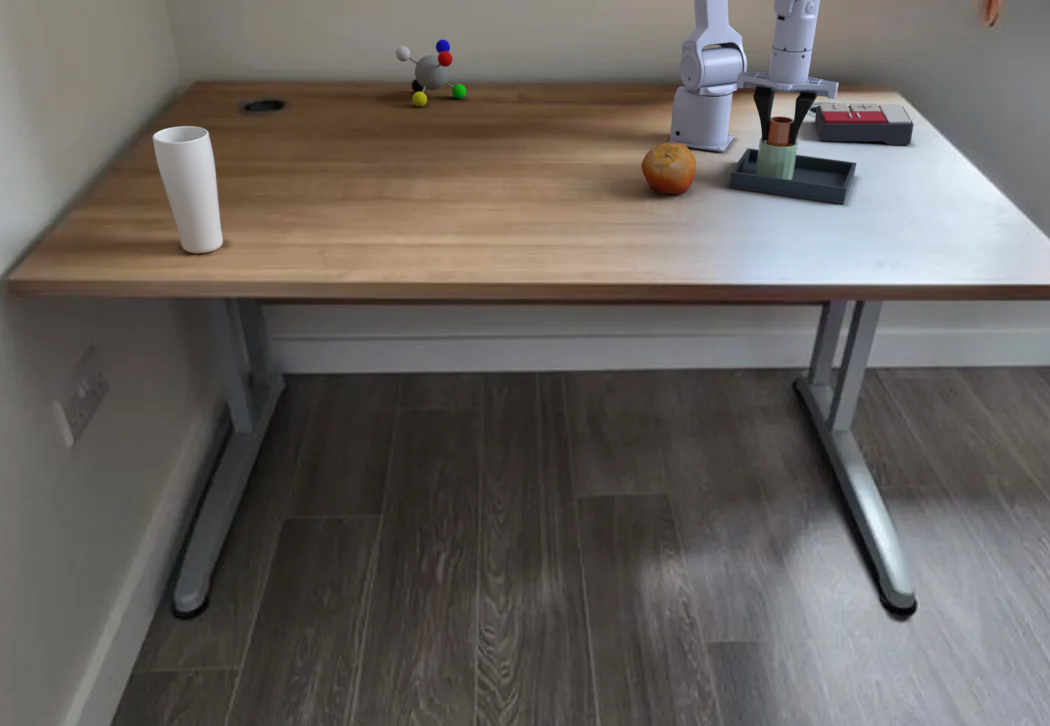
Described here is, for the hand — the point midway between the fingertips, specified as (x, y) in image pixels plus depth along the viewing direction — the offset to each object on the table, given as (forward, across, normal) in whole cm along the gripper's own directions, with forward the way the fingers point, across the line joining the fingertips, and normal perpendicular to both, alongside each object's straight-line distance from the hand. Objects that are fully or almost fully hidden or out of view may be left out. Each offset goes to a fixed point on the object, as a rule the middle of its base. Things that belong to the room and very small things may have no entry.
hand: (778, 140), depth 149 cm
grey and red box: (+6, +10, +29) cm, 31 cm away
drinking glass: (+6, -65, -55) cm, 85 cm away
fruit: (+6, -14, -11) cm, 19 cm away
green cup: (+6, 0, 0) cm, 6 cm away
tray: (+6, +3, 0) cm, 7 cm away
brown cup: (+1, 0, 0) cm, 1 cm away
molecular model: (+6, -68, +17) cm, 70 cm away
